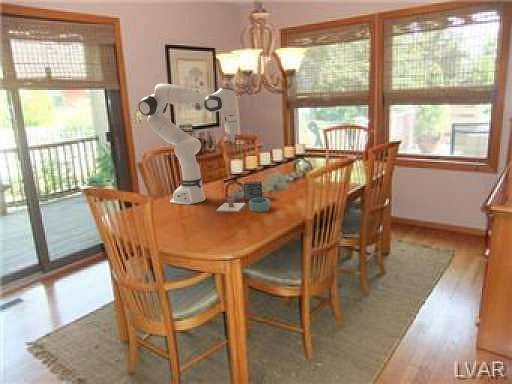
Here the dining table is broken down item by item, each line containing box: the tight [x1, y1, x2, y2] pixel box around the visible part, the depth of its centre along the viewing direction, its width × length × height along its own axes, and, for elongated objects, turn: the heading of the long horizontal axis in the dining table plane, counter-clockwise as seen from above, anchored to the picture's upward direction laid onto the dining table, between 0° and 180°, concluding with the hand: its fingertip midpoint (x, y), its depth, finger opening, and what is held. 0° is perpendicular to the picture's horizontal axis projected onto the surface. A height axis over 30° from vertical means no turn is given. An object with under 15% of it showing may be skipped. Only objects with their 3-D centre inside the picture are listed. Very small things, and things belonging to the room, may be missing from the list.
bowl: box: [248, 197, 271, 213], centre depth 224 cm, size 11×11×5 cm
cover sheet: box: [216, 198, 246, 213], centre depth 228 cm, size 13×13×5 cm
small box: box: [243, 180, 264, 201], centre depth 243 cm, size 11×6×10 cm, turn 84°
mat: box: [214, 203, 248, 213], centre depth 229 cm, size 15×15×1 cm
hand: (231, 141), depth 227 cm, fingers open, 8 cm apart
